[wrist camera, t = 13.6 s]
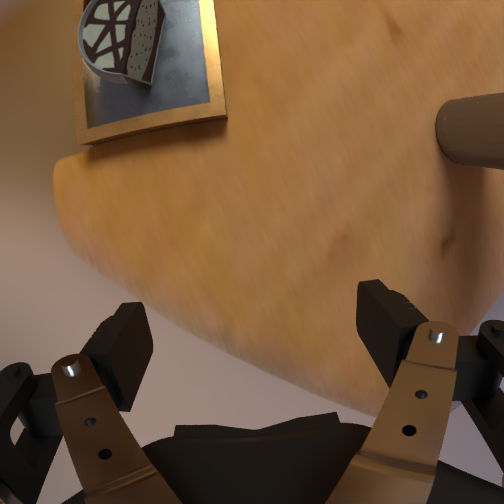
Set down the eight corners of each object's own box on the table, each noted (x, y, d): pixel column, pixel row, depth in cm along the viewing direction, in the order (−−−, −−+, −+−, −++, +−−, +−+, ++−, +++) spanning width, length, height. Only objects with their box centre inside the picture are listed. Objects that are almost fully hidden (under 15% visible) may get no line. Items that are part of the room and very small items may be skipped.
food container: (121, 7, 28) (90, -27, 19) (168, 5, 29) (148, -35, 19) (102, 97, 32) (60, 83, 22) (150, 97, 32) (119, 79, 23)
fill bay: (210, -28, 29) (208, -43, 25) (227, 118, 35) (226, 114, 31) (86, 3, 29) (73, -7, 25) (92, 145, 35) (77, 145, 31)
